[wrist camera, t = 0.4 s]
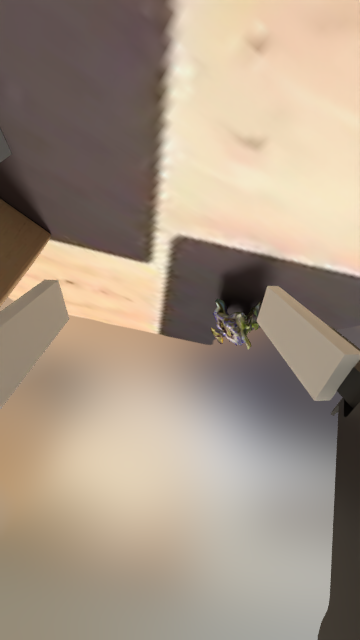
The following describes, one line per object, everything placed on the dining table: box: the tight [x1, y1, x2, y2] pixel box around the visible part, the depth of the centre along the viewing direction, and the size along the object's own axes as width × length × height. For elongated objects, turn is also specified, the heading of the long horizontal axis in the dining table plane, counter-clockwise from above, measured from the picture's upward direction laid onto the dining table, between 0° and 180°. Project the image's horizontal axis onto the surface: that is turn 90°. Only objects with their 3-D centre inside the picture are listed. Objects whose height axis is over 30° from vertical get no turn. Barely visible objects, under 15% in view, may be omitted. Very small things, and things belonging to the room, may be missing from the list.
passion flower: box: [211, 299, 261, 349], centre depth 39 cm, size 11×11×12 cm
